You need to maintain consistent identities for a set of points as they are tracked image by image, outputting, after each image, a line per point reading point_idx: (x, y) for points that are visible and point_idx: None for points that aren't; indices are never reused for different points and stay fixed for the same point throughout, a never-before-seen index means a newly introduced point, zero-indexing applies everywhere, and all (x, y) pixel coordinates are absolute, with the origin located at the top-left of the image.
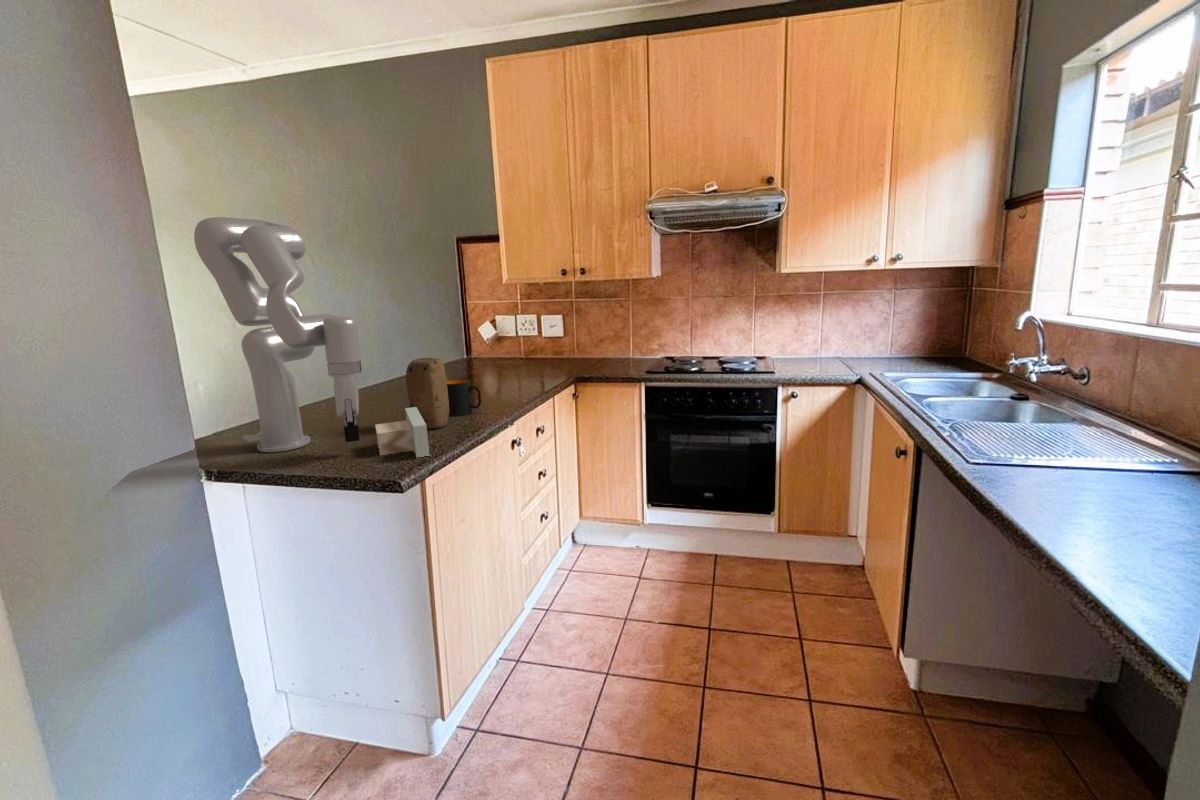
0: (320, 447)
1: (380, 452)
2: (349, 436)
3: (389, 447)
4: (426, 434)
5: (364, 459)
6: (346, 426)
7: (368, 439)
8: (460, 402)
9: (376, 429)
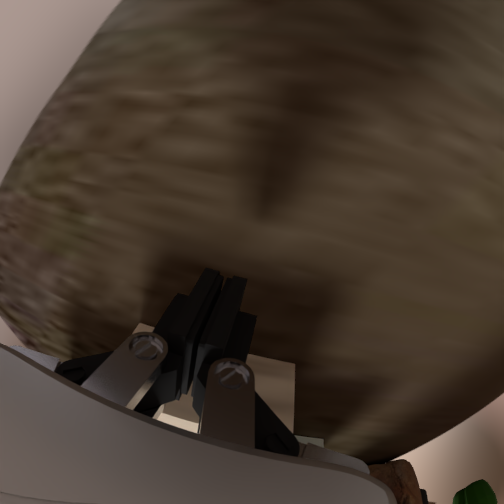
0: (485, 180)
1: (133, 333)
2: (172, 303)
3: None
4: None
5: (130, 270)
6: (136, 341)
7: (417, 360)
8: None
9: (180, 418)
